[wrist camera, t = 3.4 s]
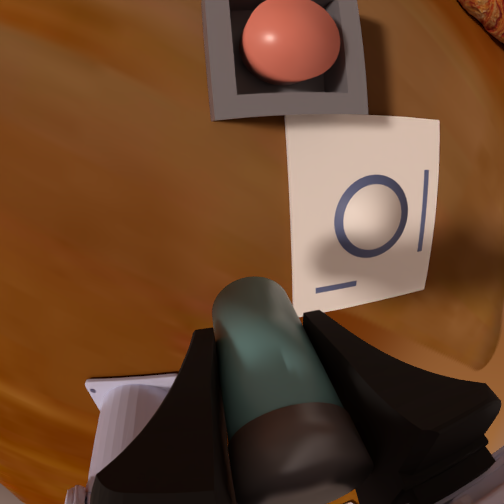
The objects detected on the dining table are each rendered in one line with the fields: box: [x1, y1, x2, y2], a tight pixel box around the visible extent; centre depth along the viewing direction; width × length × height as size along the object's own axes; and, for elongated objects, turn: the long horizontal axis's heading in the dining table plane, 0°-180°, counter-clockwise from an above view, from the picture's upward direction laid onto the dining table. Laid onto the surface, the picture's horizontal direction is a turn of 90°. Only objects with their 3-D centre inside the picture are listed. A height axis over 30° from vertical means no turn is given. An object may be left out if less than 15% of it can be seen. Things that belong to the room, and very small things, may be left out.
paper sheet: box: [284, 114, 440, 317], centre depth 19 cm, size 13×11×1 cm
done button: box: [239, 0, 340, 85], centre depth 12 cm, size 4×4×2 cm
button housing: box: [201, 0, 368, 121], centre depth 13 cm, size 7×7×4 cm
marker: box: [212, 277, 374, 504], centre depth 9 cm, size 3×3×8 cm
